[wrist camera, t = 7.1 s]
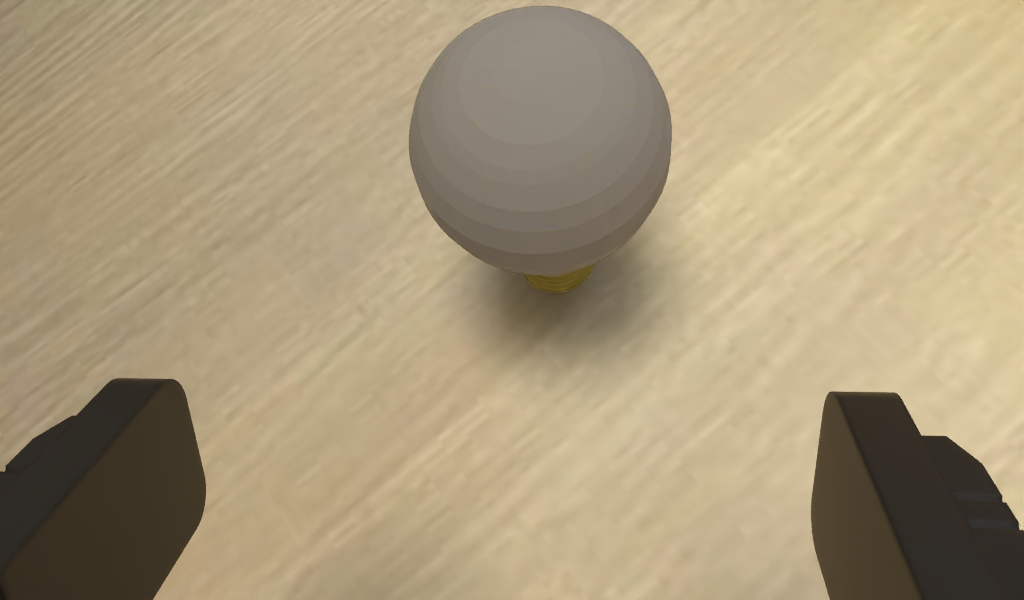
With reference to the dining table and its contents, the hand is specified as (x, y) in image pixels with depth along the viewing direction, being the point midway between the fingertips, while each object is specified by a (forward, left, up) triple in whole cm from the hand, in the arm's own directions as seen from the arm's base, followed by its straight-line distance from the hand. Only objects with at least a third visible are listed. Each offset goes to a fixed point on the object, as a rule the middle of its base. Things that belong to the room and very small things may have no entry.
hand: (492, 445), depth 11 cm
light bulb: (+2, +7, -13) cm, 15 cm away
